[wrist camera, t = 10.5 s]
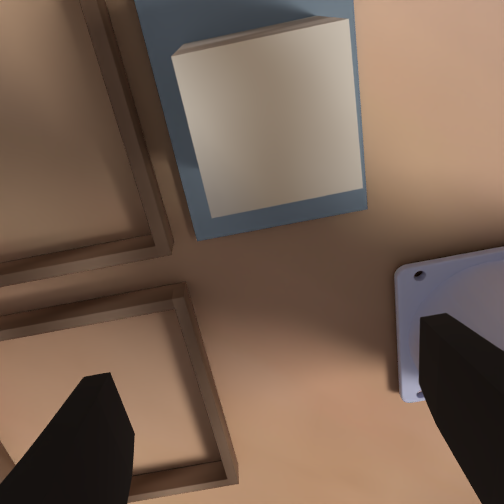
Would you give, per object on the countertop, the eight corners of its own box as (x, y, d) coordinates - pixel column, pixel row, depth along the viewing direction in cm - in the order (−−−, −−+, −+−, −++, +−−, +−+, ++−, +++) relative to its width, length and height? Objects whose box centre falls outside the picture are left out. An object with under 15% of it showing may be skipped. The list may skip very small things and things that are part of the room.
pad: (344, -89, 15) (347, -91, 14) (365, 205, 19) (367, 209, 19) (125, -43, 15) (122, -44, 15) (197, 237, 20) (197, 241, 19)
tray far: (185, 281, 20) (183, 296, 19) (238, 464, 26) (238, 483, 25) (-81, 331, 21) (-96, 348, 20) (27, 500, 26) (19, 521, 25)
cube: (316, 15, 16) (348, 19, 12) (330, 147, 18) (363, 188, 14) (183, 43, 16) (171, 56, 12) (213, 171, 18) (211, 218, 14)
